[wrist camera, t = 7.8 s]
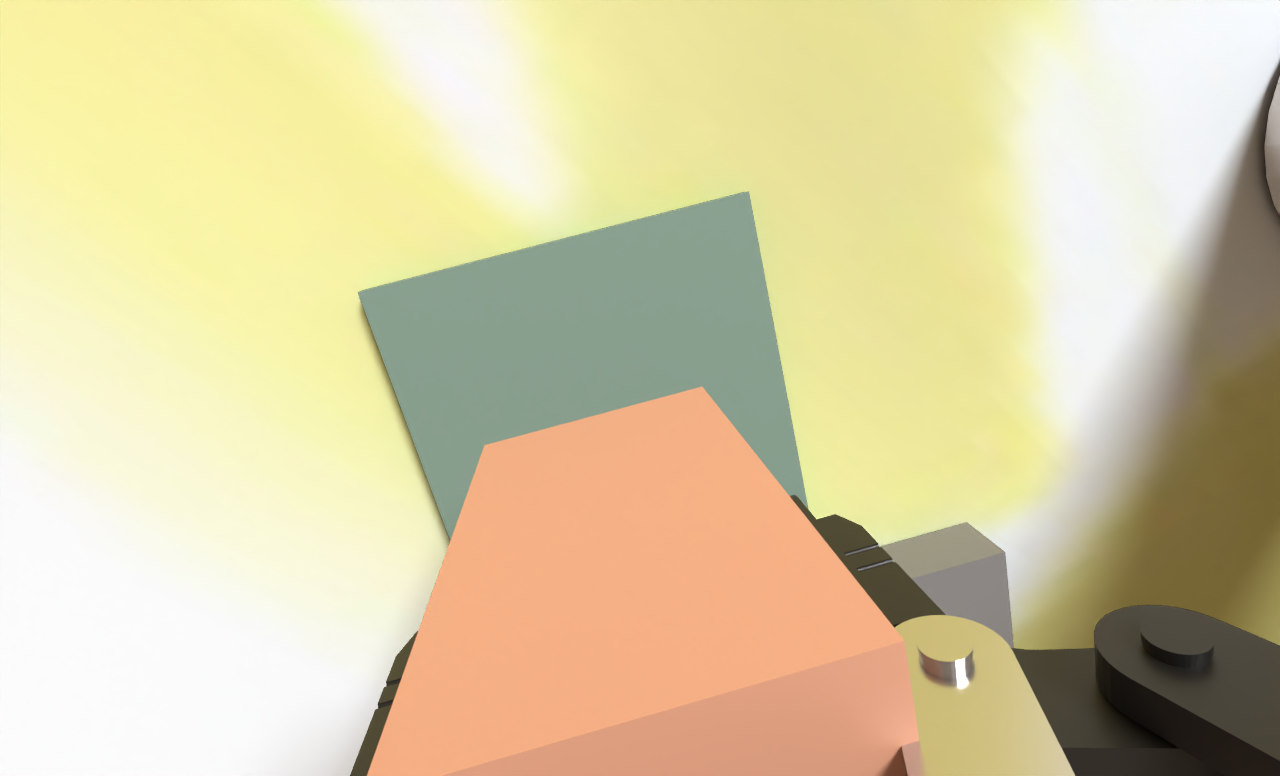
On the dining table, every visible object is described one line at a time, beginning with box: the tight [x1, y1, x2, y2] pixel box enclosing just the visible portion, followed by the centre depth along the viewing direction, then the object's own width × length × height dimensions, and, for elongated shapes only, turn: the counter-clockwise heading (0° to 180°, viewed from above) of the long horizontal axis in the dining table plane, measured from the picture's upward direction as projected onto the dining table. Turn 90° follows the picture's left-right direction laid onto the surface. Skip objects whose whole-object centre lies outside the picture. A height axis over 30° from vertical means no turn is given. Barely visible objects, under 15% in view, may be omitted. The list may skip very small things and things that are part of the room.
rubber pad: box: [358, 192, 808, 541], centre depth 19 cm, size 11×11×1 cm
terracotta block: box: [367, 387, 919, 776], centre depth 10 cm, size 4×4×8 cm
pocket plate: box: [881, 522, 1014, 648], centre depth 23 cm, size 14×14×2 cm
